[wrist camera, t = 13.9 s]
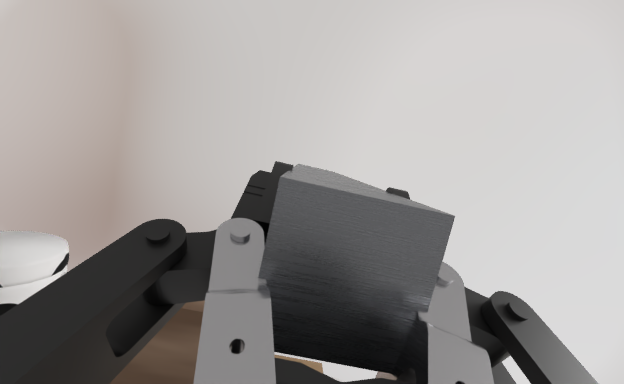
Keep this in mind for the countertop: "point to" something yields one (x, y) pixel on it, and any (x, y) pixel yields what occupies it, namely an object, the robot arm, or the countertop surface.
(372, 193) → the gray metal block
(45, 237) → the spotted cookie jar
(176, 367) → the stand
